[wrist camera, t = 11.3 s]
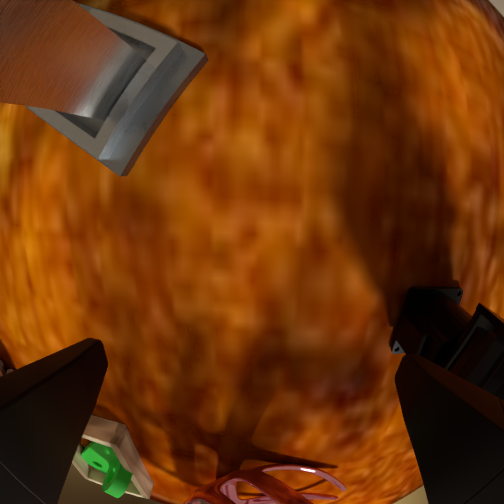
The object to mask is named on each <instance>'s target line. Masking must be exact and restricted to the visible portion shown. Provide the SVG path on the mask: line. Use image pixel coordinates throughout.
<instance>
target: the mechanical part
mask: <svg viewBox="0 0 504 504" xmlns="http://www.w3.org/2000/svg"><path fill="white" fill-rule="evenodd" d="M81 456H82V458H83V459H84V460H85V461H86V462H87V463H88V464H89V465H91V466H92V467H94V468H96V469H97V470H99V471H101V472H102V473H104V474H106V476H105V479H104V481H103V485H102V489H103V491H105V492H106V493H108V494H110V495H112V496H114V497H116V498H119V497H121V496H122V495H123V494H124V492H125V491H126V489H127V488H128V486H129V484H130V481H131V478H132V475H133V474H132V473H131V472H129V471H127V470H125V469H124V468H123V466H122V464H121V463H120V461H119V459H118V458H117V456H116V454H115V452H114V451H113V449H112V447H109V446H106V445H102V444H99V443H96V442H94V441H92V442H90V443H89V444H88V445H87V446H86V447H85V448H84V450H83V452H82V454H81Z"/></svg>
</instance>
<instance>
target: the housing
mask: <svg viewBox="0 0 504 504" xmlns="http://www.w3.org/2000/svg"><path fill="white" fill-rule="evenodd" d="M77 4H78V5H79V6H81V7H82V8H83V9H85V10H86V11H87V12H89V13H90V14H91V15H93V16H94V17H95V18H96V19H98V20H99V21H100V22H101V23H103V24H104V25H105V26H106V27H108V28H109V29H110V30H111V31H113V32H114V33H115V34H116V35H117V36H119V37H120V38H121V39H122V40H123V41H125V42H126V43H127V44H128V45H129V46H130V47H132V48H133V49H134V50H135V51H136V52H137V53H139V54H140V55H141V56H142V57H143V58H144V59H145V60H147V61H146V62H145V63H144V64H143V66H142V67H141V68H140V70H139V71H138V72H137V74H136V75H135V77H134V78H133V79H132V81H131V82H130V84H129V85H128V86H127V88H126V89H125V91H124V92H123V94H122V95H121V97H120V98H119V100H118V101H117V103H116V104H115V106H114V107H113V109H112V111H111V112H110V114H109V116H108V117H107V119H106V120H105V121H102V120H98V119H94V118H89V117H85V116H80V115H75V114H70V113H65V112H60V111H55V110H49V109H43V108H37V107H31V106H26V107H27V108H28V109H30V110H31V111H32V112H34V113H35V114H36V115H38V116H39V117H40V118H42V119H43V120H44V121H46V122H47V123H48V124H50V125H51V126H52V127H54V128H55V129H56V130H58V131H59V132H60V133H62V134H63V135H64V136H66V137H67V138H68V139H70V140H71V141H72V142H74V143H75V144H76V145H78V146H79V147H80V148H82V149H83V150H85V151H86V152H87V153H89V154H90V155H91V156H93V157H94V158H95V159H97V160H98V161H100V162H101V163H102V164H104V165H105V166H106V167H108V168H109V169H111V170H112V171H113V172H115V173H116V174H117V175H119V176H127V175H128V174H129V172H130V170H131V169H132V167H133V165H134V163H135V162H136V160H137V158H138V157H139V155H140V154H141V152H142V150H143V149H144V147H145V146H146V144H147V142H148V141H149V139H150V138H151V136H152V135H153V133H154V132H155V130H156V129H157V127H158V126H159V124H160V123H161V121H162V120H163V118H164V117H165V116H166V114H167V113H168V111H169V110H170V108H171V107H172V106H173V104H174V103H175V102H176V100H177V99H178V98H179V96H180V95H181V94H182V92H183V91H184V90H185V88H186V87H187V86H188V84H189V83H190V82H191V81H192V79H193V78H194V77H195V76H196V74H197V73H198V72H199V71H200V70H201V68H202V67H203V66H204V65H205V64H206V62H207V61H208V58H207V56H206V54H205V53H203V52H201V51H199V50H197V49H195V48H193V47H191V46H189V45H187V44H185V43H183V42H181V41H179V40H177V39H175V38H173V37H170V36H168V35H166V34H164V33H161V32H159V31H157V30H155V29H152V28H150V27H147V26H145V25H142V24H140V23H137V22H135V21H132V20H130V19H127V18H124V17H121V16H118V15H116V14H113V13H110V12H107V11H103V10H100V9H97V8H94V7H90V6H87V5H83V4H79V3H77Z"/></svg>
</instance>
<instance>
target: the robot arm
mask: <svg viewBox="0 0 504 504" xmlns="http://www.w3.org/2000/svg"><path fill="white" fill-rule="evenodd" d="M413 292H415V293H414V294H413ZM412 294H413V295H412ZM462 294H463V290H462V289H461V288H460V287H412V288H410V289H409V291H408V293H407V297H406V301H405V304H404V308H403V311H402V313H401V316H400V320H399V323H398V326H397V329H396V332H395V335H394V340H393V343H392V346H391V351H392V353H394V354H400V353H406V355H404V356H403V358H402V360H401V362H400V365H399V367H398V370H397V372H396V375H395V384H396V388H397V392H398V396H399V401H400V405H401V409H402V414H403V418H404V421H405V425H406V428H407V431H408V434H409V437H410V440H411V443H412V446H413V449H414V453H415V456H416V459H417V463H418V466H419V469H420V473H421V477H422V480H423V484H424V488H425V491H426V495H427V499H428V504H504V319H503V318H501V317H500V316H498V315H497V314H496V313H494V312H493V311H491V310H490V309H488V308H487V307H485V306H484V305H482V304H481V303H479V304H478V306H477V307H476V311H475V313H474V314H473V316H471V315H470V314H469V313H468V312H467V311H465V310H464V309H463V308H462V307H461V306H459V304H460V301H461V298H462ZM395 348H396V349H395ZM107 367H108V361H107V357H106V354H105V350H104V346H103V343H102V341H101V340H99V339H94V338H87V339H85V340H83V341H80V342H78V343H76V344H74V345H71V346H69V347H67V348H65V349H62V350H60V351H58V352H56V353H53V354H51V355H49V356H46V357H44V358H42V359H40V360H37V361H35V362H33V363H30V364H28V365H26V366H24V367H21V368H19V369H17V370H14V371H12V372H10V373H7V374H5V375H3V376H0V504H58V500H59V497H60V494H61V491H62V488H63V486H64V483H65V480H66V477H67V474H68V472H69V468H70V466H71V464H72V461H73V458H74V456H75V453H76V451H77V448H78V446H79V443H80V441H81V438H82V436H83V433H84V431H85V429H86V426H87V424H88V422H89V419H90V417H91V415H92V412H93V410H94V407H95V404H96V402H97V398H98V395H99V392H100V389H101V386H102V383H103V380H104V377H105V374H106V371H107Z"/></svg>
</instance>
